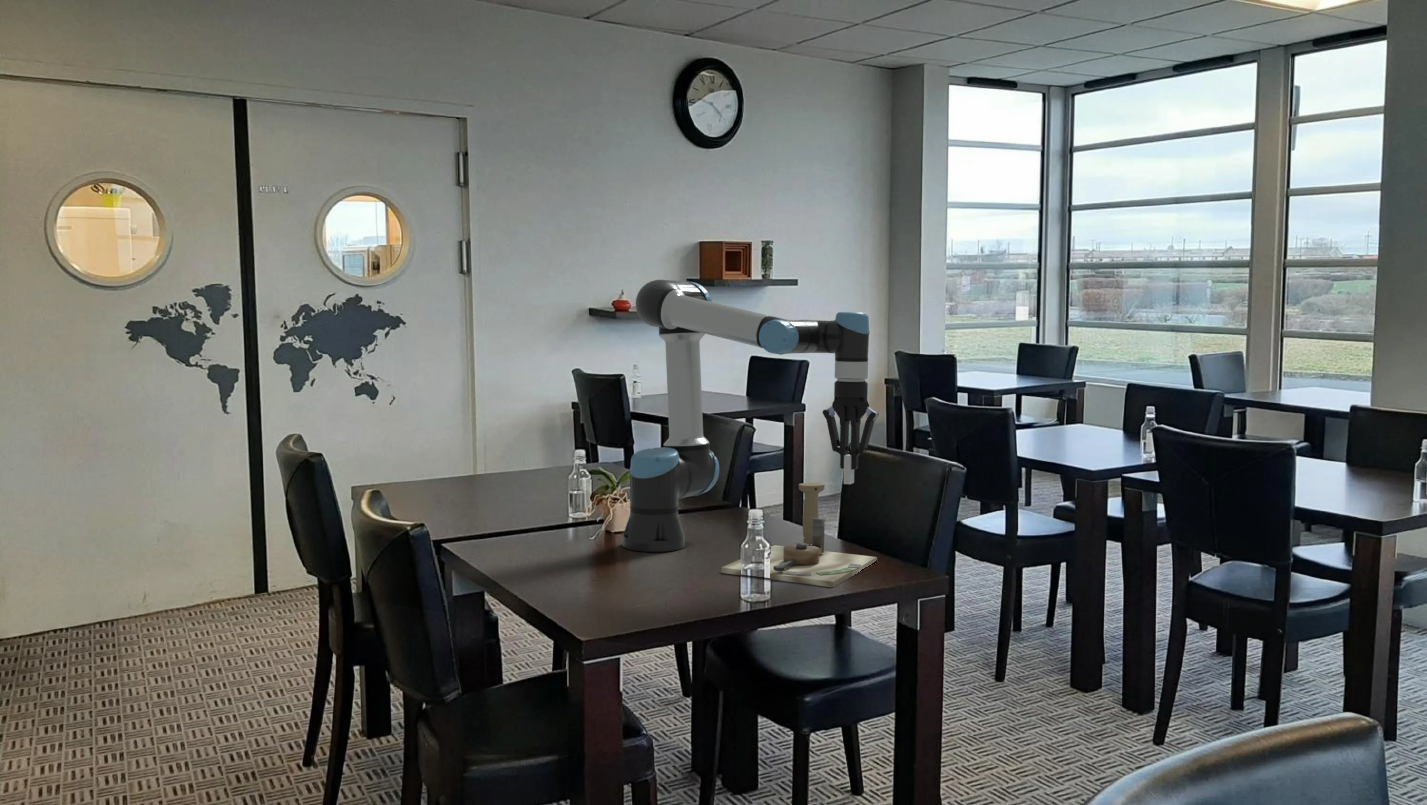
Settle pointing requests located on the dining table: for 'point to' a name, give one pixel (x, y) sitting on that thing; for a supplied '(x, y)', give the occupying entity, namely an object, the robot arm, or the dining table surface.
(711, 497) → the dining table surface
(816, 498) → the handle
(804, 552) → the brown handled round piece
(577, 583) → the dining table surface
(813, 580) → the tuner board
